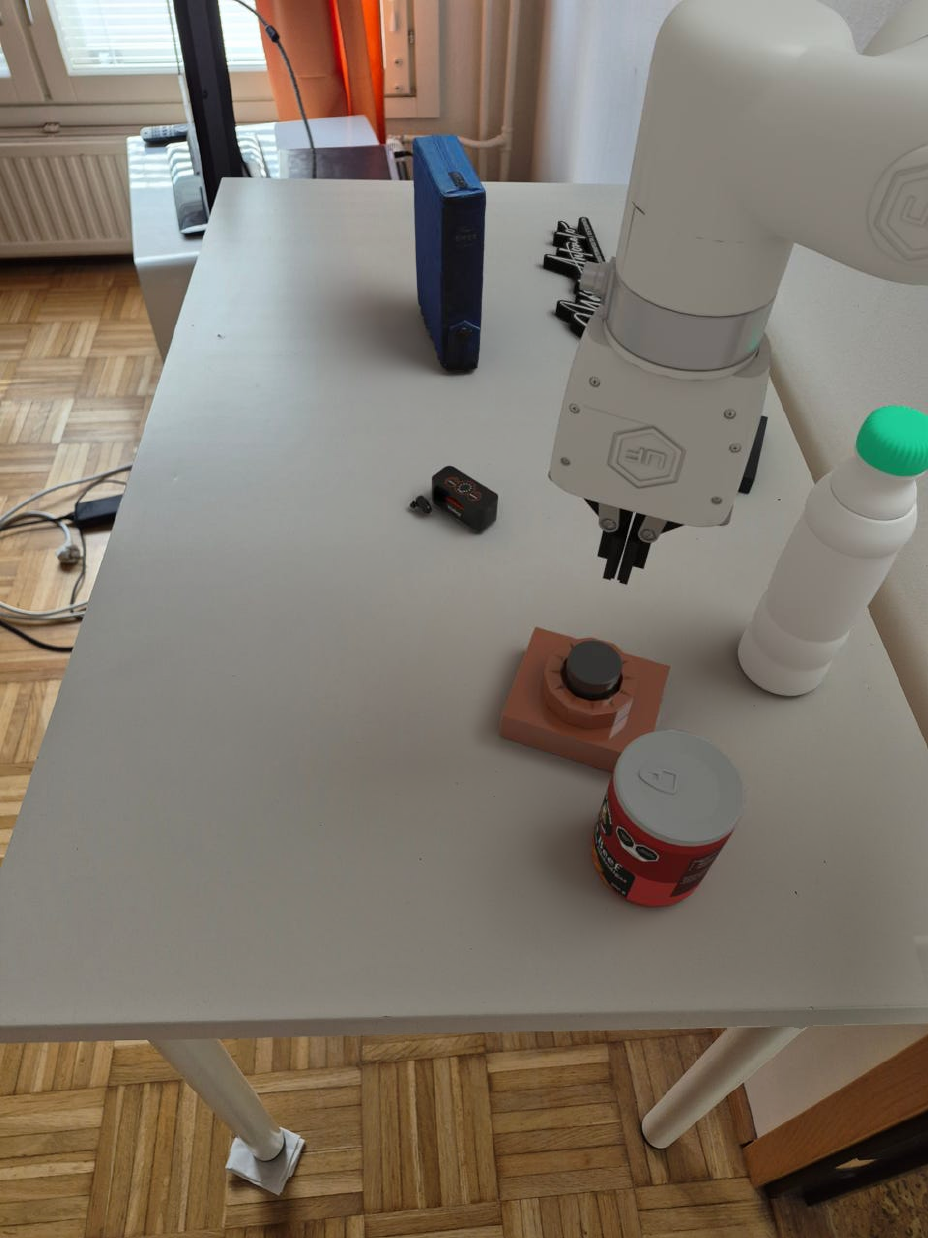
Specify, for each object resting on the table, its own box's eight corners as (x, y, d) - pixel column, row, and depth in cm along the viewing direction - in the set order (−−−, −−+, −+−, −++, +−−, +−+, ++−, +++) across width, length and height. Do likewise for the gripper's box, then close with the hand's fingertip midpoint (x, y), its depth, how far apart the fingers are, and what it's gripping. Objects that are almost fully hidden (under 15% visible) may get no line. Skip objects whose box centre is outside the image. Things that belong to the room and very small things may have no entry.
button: (622, 665, 67) (627, 649, 65) (610, 707, 65) (615, 691, 63) (571, 650, 68) (575, 633, 66) (558, 690, 65) (561, 675, 64)
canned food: (585, 805, 65) (610, 725, 56) (694, 810, 65) (736, 731, 56) (591, 908, 60) (620, 838, 51) (709, 914, 60) (757, 845, 51)
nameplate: (657, 338, 99) (569, 342, 98) (654, 350, 100) (568, 353, 99) (604, 216, 116) (529, 217, 115) (602, 227, 117) (528, 229, 116)
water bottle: (788, 715, 70) (929, 479, 51) (718, 659, 73) (825, 418, 54) (838, 668, 73) (990, 430, 54) (769, 617, 76) (888, 374, 57)
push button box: (662, 687, 71) (676, 650, 67) (638, 781, 66) (651, 746, 62) (531, 648, 73) (537, 610, 69) (498, 736, 68) (503, 700, 64)
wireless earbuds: (442, 485, 85) (442, 459, 83) (498, 521, 82) (501, 496, 80) (408, 510, 83) (408, 484, 80) (465, 548, 80) (467, 523, 78)
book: (485, 374, 96) (497, 190, 81) (438, 380, 95) (440, 195, 80) (455, 301, 105) (460, 122, 89) (411, 306, 104) (408, 126, 88)
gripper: (513, 315, 41) (490, 576, 55) (841, 390, 38) (727, 643, 53) (556, 238, 46) (524, 498, 60) (852, 301, 43) (745, 557, 57)
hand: (619, 565), depth 56 cm, fingers closed
